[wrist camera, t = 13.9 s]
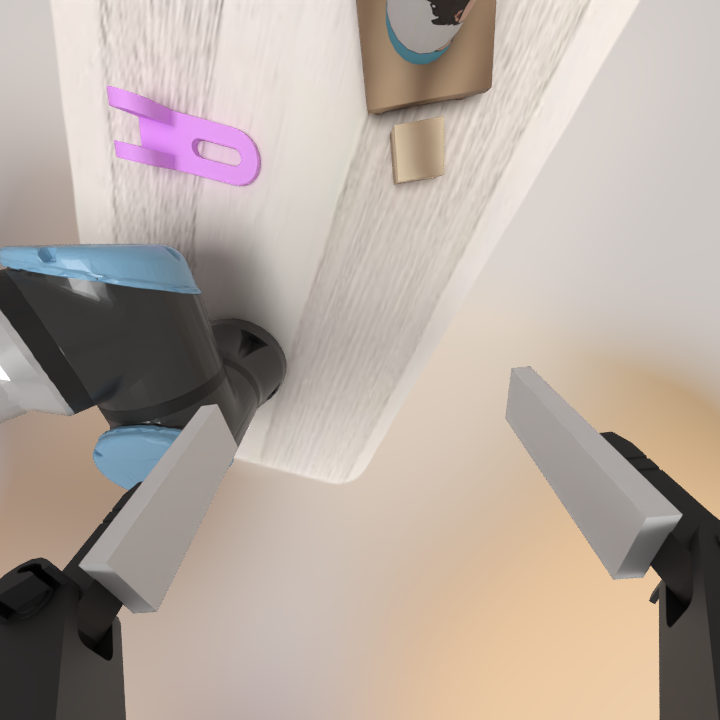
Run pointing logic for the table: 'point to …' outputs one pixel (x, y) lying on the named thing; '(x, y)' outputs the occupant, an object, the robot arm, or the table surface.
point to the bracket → (183, 141)
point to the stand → (425, 81)
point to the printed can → (424, 26)
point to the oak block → (417, 150)
